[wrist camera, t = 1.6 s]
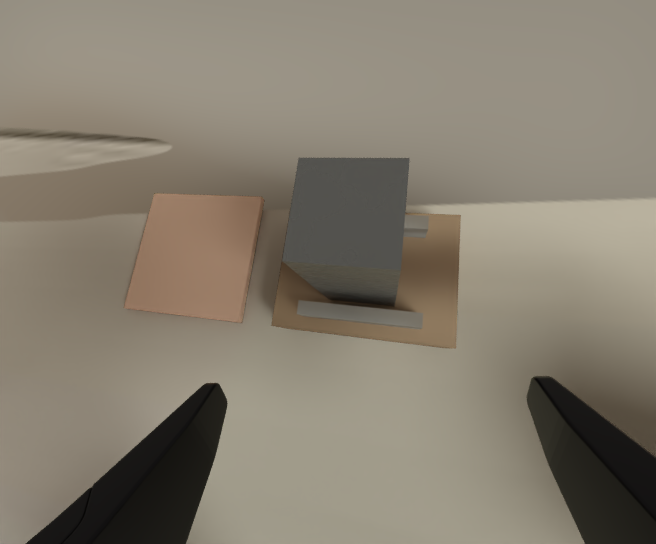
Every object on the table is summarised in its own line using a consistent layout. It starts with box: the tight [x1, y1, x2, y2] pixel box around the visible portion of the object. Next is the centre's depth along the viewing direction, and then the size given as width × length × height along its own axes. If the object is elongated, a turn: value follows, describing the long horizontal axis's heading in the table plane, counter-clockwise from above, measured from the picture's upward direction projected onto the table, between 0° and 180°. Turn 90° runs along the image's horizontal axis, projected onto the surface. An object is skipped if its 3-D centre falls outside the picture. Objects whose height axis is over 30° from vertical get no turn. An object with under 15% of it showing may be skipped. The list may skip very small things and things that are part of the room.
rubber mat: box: [124, 193, 264, 323], centre depth 25 cm, size 10×10×1 cm
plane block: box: [271, 213, 461, 348], centre depth 20 cm, size 8×11×4 cm
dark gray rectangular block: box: [282, 158, 409, 306], centre depth 15 cm, size 5×4×9 cm
